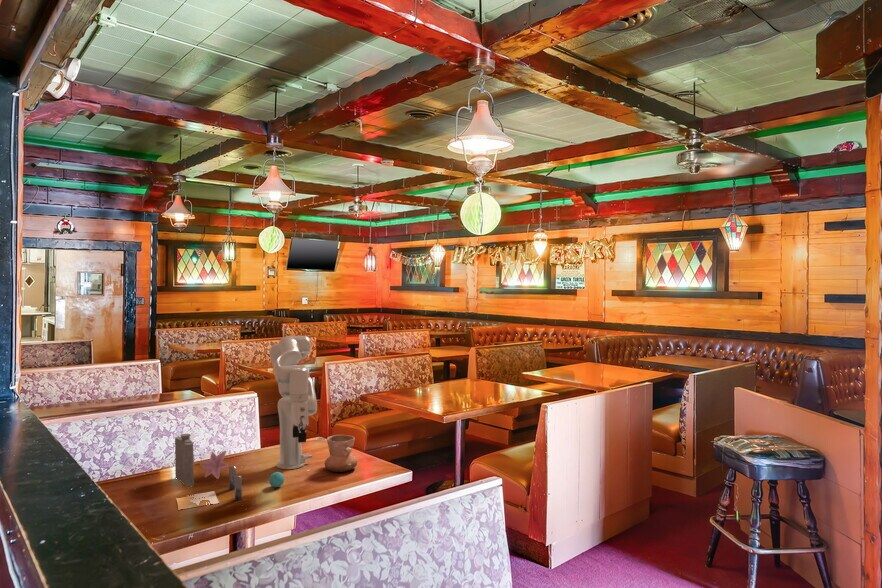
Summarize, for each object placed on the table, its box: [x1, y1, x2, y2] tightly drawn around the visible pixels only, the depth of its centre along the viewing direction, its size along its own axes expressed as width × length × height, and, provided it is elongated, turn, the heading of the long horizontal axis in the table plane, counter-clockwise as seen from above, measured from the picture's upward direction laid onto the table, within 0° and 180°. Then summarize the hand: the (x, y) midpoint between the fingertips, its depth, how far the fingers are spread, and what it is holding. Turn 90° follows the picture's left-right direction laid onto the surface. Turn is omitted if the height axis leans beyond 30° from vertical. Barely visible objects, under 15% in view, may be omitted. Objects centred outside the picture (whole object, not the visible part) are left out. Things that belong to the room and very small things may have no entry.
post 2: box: [234, 474, 243, 502], centre depth 218 cm, size 3×3×9 cm
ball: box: [268, 471, 285, 488], centre depth 231 cm, size 6×6×6 cm
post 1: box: [228, 465, 237, 491], centre depth 229 cm, size 3×3×9 cm
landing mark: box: [187, 490, 220, 506], centre depth 217 cm, size 14×14×1 cm
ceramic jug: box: [324, 434, 358, 473], centre depth 253 cm, size 18×14×14 cm
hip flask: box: [174, 433, 195, 488], centre depth 237 cm, size 16×4×20 cm, turn 42°
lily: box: [199, 450, 230, 480], centre depth 246 cm, size 12×12×10 cm
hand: (299, 439), depth 235 cm, fingers open, 8 cm apart
